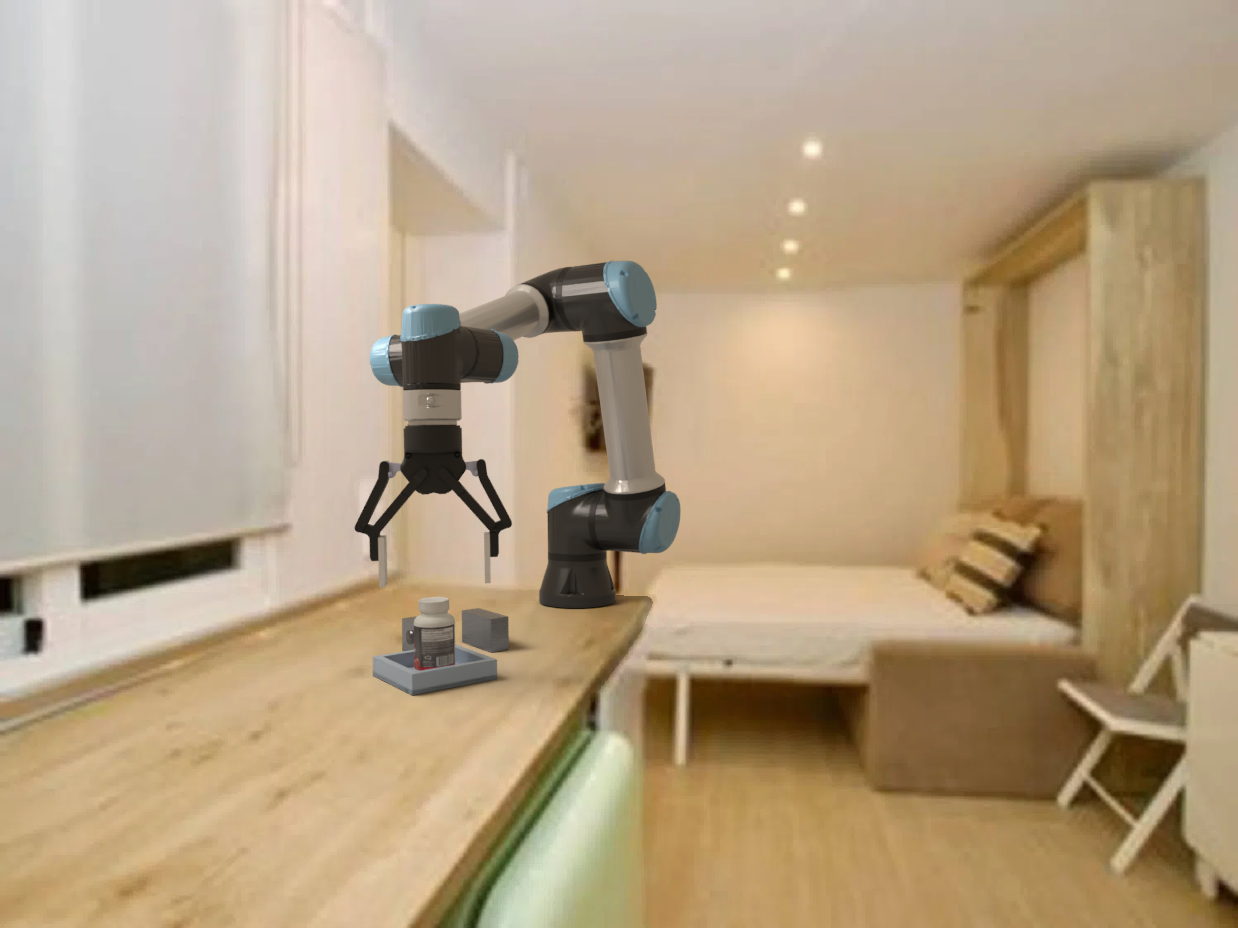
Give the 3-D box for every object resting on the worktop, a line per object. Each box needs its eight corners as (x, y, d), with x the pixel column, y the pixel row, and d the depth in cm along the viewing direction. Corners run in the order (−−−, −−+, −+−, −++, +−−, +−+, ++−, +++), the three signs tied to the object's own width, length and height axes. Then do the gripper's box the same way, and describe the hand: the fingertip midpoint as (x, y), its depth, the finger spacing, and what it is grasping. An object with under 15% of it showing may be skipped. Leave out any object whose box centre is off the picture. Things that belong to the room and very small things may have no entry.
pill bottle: (415, 668, 117) (414, 596, 117) (456, 666, 118) (455, 595, 118) (412, 678, 112) (411, 603, 112) (455, 676, 113) (454, 601, 113)
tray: (453, 661, 124) (453, 643, 124) (497, 678, 114) (496, 659, 114) (372, 675, 116) (372, 656, 116) (412, 695, 107) (412, 674, 107)
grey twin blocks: (484, 638, 139) (484, 607, 139) (514, 648, 132) (514, 615, 132) (395, 652, 129) (395, 618, 129) (423, 664, 122) (422, 628, 122)
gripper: (329, 424, 109) (333, 592, 110) (529, 422, 113) (531, 584, 114) (339, 424, 116) (343, 582, 117) (526, 422, 120) (529, 575, 121)
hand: (436, 583), depth 115 cm, fingers open, 13 cm apart
